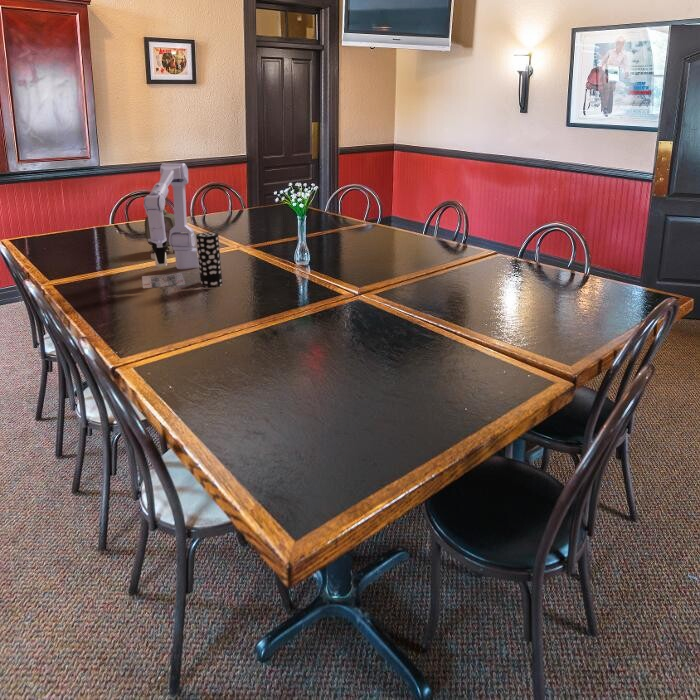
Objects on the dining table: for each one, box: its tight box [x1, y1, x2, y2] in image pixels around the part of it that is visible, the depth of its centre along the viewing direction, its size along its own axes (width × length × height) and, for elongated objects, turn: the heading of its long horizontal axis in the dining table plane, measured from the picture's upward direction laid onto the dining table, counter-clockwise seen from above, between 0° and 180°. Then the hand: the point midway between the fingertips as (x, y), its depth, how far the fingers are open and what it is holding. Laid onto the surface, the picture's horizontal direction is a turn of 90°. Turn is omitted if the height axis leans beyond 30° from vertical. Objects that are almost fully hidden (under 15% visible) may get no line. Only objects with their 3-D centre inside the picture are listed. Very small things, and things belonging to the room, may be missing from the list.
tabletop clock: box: [144, 199, 182, 254], centre depth 308 cm, size 14×9×25 cm, turn 81°
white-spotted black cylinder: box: [195, 231, 223, 289], centre depth 256 cm, size 8×8×20 cm
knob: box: [150, 251, 168, 268], centre depth 256 cm, size 6×4×5 cm
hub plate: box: [141, 272, 186, 289], centre depth 263 cm, size 16×18×2 cm
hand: (161, 262), depth 256 cm, fingers closed on knob, 4 cm apart
